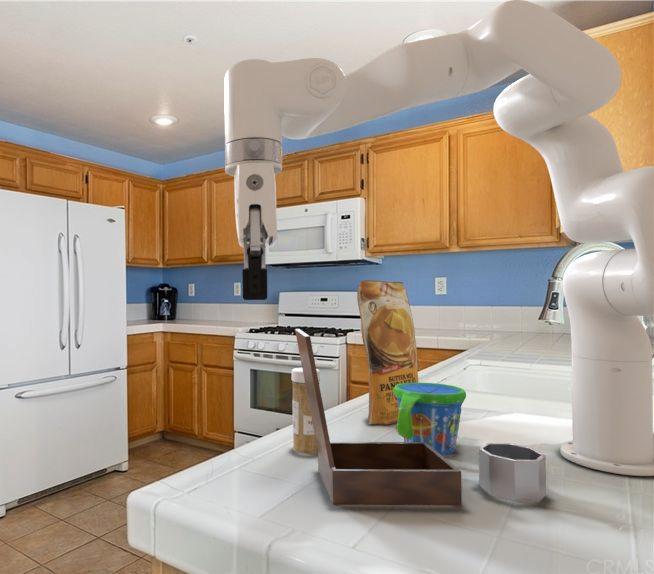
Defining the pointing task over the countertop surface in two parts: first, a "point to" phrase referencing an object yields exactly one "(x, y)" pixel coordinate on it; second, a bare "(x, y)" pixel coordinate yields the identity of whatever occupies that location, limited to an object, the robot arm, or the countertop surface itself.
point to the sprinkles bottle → (302, 415)
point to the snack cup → (429, 414)
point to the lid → (314, 395)
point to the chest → (389, 474)
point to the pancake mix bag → (386, 345)
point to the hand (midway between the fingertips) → (254, 299)
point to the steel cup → (512, 472)
